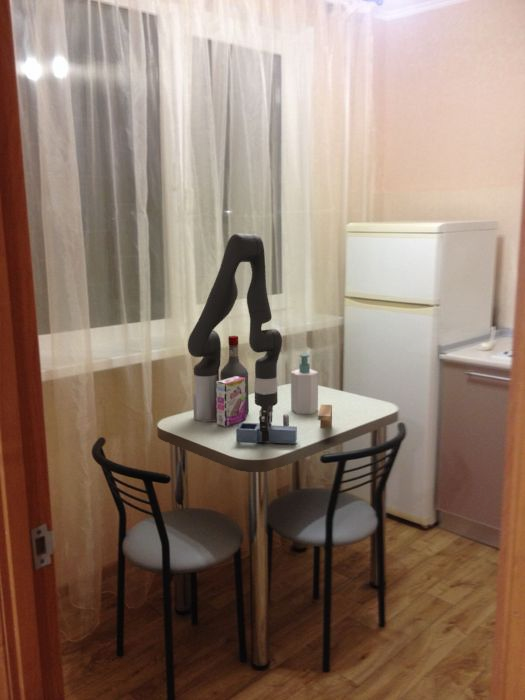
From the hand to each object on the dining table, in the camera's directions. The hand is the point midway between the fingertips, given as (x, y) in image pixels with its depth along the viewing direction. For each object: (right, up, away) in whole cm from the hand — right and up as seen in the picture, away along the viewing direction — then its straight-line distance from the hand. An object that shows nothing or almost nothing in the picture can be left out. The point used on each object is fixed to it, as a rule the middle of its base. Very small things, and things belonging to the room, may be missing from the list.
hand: (266, 439), depth 214 cm
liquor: (-12, +5, +32) cm, 34 cm away
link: (0, 0, 0) cm, 0 cm away
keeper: (+21, +1, +9) cm, 23 cm away
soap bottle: (+15, +6, +35) cm, 38 cm away
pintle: (+7, +1, +10) cm, 12 cm away
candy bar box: (-13, +3, +21) cm, 25 cm away
